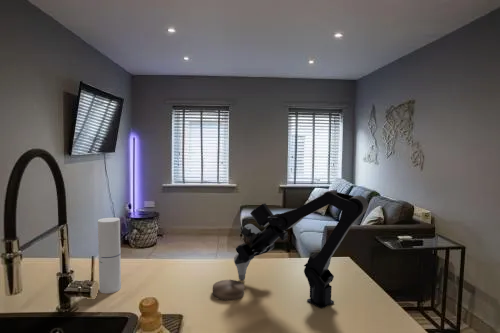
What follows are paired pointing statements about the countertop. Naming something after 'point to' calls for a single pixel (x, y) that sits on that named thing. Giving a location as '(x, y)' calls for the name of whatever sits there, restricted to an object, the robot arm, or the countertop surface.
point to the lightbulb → (241, 268)
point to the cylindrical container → (109, 255)
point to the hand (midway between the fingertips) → (242, 259)
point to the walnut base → (228, 290)
